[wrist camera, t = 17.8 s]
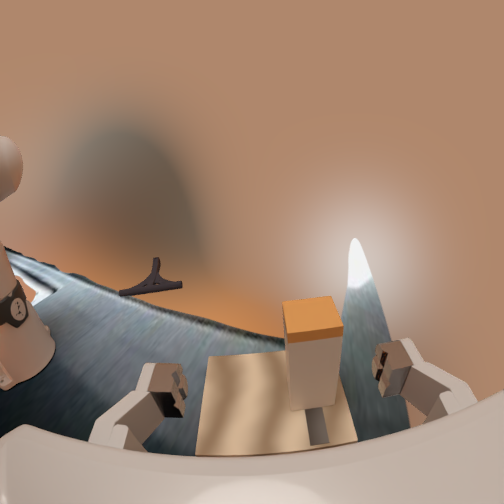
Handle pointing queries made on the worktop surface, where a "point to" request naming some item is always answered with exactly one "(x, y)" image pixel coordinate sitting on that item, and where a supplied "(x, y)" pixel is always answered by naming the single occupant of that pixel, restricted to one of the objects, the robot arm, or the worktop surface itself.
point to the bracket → (152, 283)
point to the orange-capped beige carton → (312, 351)
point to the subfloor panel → (264, 411)
